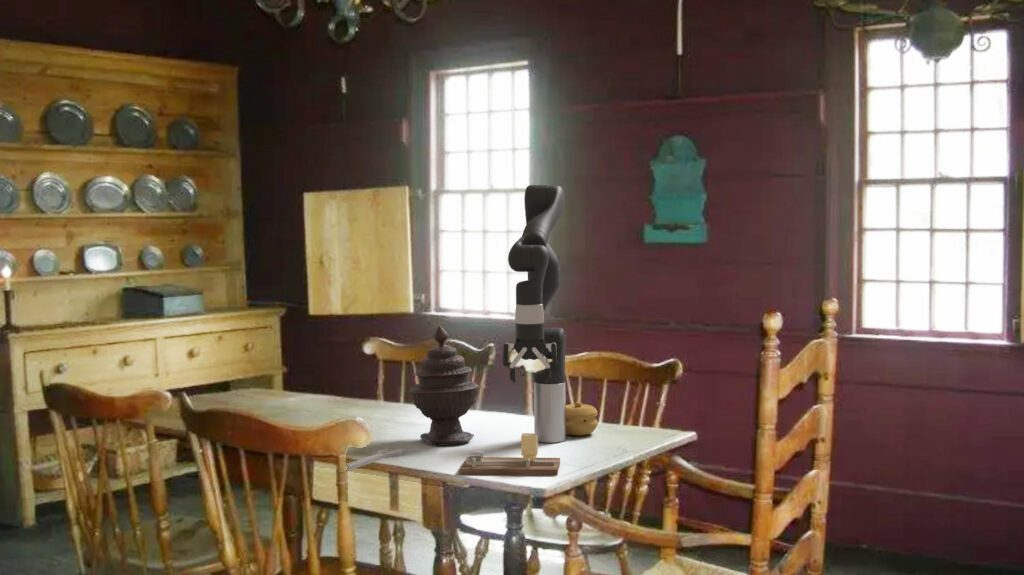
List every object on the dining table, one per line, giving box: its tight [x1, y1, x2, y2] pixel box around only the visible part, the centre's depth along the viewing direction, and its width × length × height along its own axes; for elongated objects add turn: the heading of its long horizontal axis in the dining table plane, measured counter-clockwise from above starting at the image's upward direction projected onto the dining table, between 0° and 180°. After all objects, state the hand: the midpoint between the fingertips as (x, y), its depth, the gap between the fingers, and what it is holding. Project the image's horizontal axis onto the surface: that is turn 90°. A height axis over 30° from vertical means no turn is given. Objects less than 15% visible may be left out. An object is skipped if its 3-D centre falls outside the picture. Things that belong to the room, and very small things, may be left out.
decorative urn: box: [408, 324, 479, 446], centre depth 324 cm, size 20×20×35 cm
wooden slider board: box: [459, 450, 561, 476], centre depth 288 cm, size 14×25×4 cm, turn 85°
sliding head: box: [520, 432, 539, 461], centre depth 288 cm, size 6×4×7 cm, turn 175°
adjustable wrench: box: [346, 448, 404, 472], centre depth 300 cm, size 25×6×2 cm, turn 147°
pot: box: [566, 401, 599, 437], centre depth 333 cm, size 12×12×10 cm
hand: (530, 382), depth 291 cm, fingers open, 8 cm apart
